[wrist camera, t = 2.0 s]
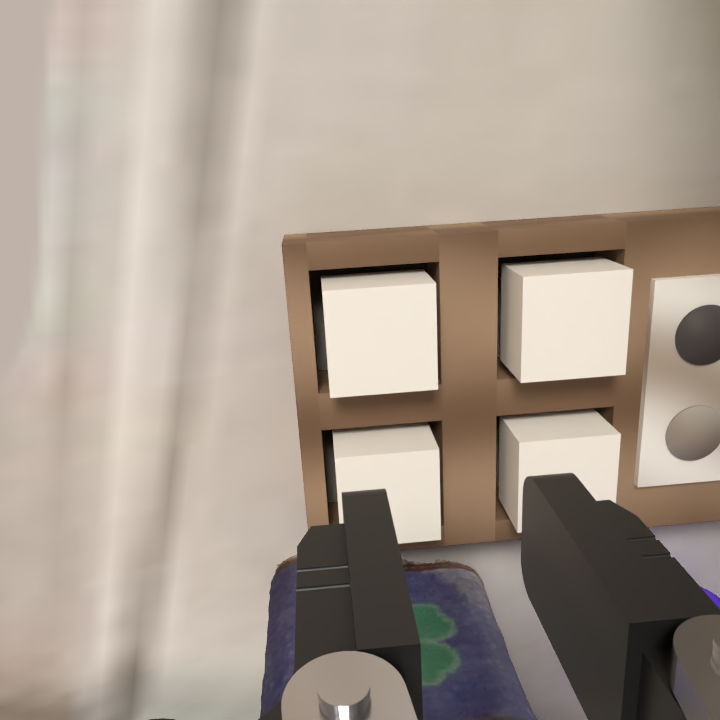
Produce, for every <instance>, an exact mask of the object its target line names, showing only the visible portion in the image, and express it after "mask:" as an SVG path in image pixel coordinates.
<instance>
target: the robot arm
mask: <svg viewBox="0 0 720 720" xmlns="http://www.w3.org/2000/svg"><path fill="white" fill-rule="evenodd" d="M342 508H343V522H344V523H341V524H330V525H319V526H311V527H310V529H309V530H308V532H307V533H306V535H305V536H304V537H303V539H302V540H301V542H300V543H299V545H298V546H297V581H296V590H297V593H296V618H295V656H294V673H293V676H292V678H291V679H290V680H289V682H288V683H287V685H286V688H285V690H284V692H283V696H282V699H281V700H280V702H279V703H278V704H277V705H276V706H275V707H274V708H273V709H272V710H271V711H269V712H268V713H267V714H266V715H264V716H263V717H262V718H260V719H258V720H423V700H422V670H421V643H420V639H419V634H418V630H417V625H416V621H415V616H414V612H413V608H412V603H411V599H410V594H409V590H408V585H407V581H406V576H405V572H404V568H403V563H402V559H401V554H400V550H399V545H398V541H397V536H396V532H395V528H394V523H393V519H392V514H391V510H390V505H389V501H388V496H387V492H386V489H374V490H362V491H351V492H342ZM521 566H522V574H523V579H524V584H525V588H526V591H527V594H528V597H529V599H530V601H531V603H532V605H533V607H534V609H535V611H536V613H537V615H538V618H539V620H540V622H541V624H542V626H543V628H544V630H545V632H546V634H547V636H548V638H549V640H550V642H551V644H552V646H553V648H554V650H555V652H556V655H557V657H558V659H559V661H560V663H561V665H562V667H563V669H564V671H565V673H566V675H567V677H568V679H569V681H570V683H571V685H572V687H573V689H574V692H575V694H576V696H577V698H578V700H579V702H580V704H581V706H582V708H583V710H584V712H585V714H586V716H587V718H588V720H720V609H719V608H718V607H717V605H716V604H715V603H714V602H713V601H712V600H711V599H710V597H709V596H708V595H707V594H706V593H705V592H704V591H703V590H702V588H701V587H700V586H699V585H698V584H697V583H696V582H695V581H694V579H693V578H692V577H691V576H690V575H689V574H688V573H687V572H686V570H685V569H684V568H683V567H682V566H681V565H680V564H679V562H678V561H677V560H676V559H675V558H674V557H673V558H671V556H670V552H669V551H668V550H667V549H666V548H665V547H664V546H663V544H662V543H661V542H660V541H659V540H656V539H655V535H654V534H653V533H652V532H651V531H650V530H649V529H648V527H647V526H646V525H645V524H644V523H643V522H642V521H641V520H640V518H639V517H638V516H637V515H635V514H633V513H631V512H630V511H628V510H626V509H625V508H623V507H621V506H619V505H618V504H616V503H614V502H612V501H611V500H601V501H596V500H595V499H594V497H593V496H592V495H591V494H590V492H589V491H588V490H587V489H586V487H585V486H584V485H583V484H582V482H581V481H580V480H579V479H578V477H577V476H576V475H575V474H573V473H561V474H549V475H538V476H528V477H526V478H525V480H524V484H523V498H522V539H521ZM150 720H174V719H150Z"/></svg>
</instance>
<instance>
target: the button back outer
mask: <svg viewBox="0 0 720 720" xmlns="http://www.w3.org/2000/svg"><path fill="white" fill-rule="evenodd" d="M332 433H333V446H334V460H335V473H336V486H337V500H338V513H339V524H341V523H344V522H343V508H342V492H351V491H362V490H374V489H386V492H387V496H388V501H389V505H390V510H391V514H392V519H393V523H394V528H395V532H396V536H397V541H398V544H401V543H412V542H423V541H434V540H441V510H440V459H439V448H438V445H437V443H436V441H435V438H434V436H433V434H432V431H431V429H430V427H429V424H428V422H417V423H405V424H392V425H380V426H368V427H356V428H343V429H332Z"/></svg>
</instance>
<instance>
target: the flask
mask: <svg viewBox="0 0 720 720" xmlns="http://www.w3.org/2000/svg"><path fill="white" fill-rule="evenodd" d="M435 562H436V563H435V564H432V563H430V564H427V563H414V562H412V561H411V562H407V560H402V563H403V568H404V572H405V576H406V581H407V585H408V590H409V594H410V599H411V603H412V608H413V612H414V616H415V621H416V625H417V630H418V634H419V639H420V643H421V670H422V700H423V720H537V718H536V717H535V715H534V713H533V711H532V709H531V707H530V705H529V703H528V701H527V698H526V696H525V694H524V691H523V689H522V686H521V684H520V682H519V679H518V676H517V674H516V671H515V668H514V666H513V664H512V662H511V660H510V657H509V655H508V651H507V648H506V645H505V642H504V638H503V636H502V633H501V631H500V629H499V627H498V625H497V622H496V620H495V617H494V615H493V612H492V609H491V606H490V603H489V600H488V597H487V594H486V592H485V589H484V585H483V582H482V580H481V579H480V577H479V576H478V574H477V573H476V571H475V570H473V569H472V568H470V567H468V566H464V565H462V564H459V563H457V562H449V561H445V560H436V561H435ZM277 566H278V568H277V569H276V573H275V575H274V577H273V580H272V582H271V589H270V592H269V593H270V601H269V621H268V630H267V634H268V635H267V645H266V653H265V674H264V678H263V685H262V695H261V714H260V718H262V717H263V716H264V715H266V714H267V713H268V712H269V711H271V710H272V709H273V708H274V707H275V706H276V705H277V704H278V703H279V702H280V700H281V699H282V696H283V692H284V690H285V688H286V685H287V683H288V682H289V680H290V679H291V678H292V676H293V673H294V656H295V618H296V593H297V590H296V581H297V555H295V556H293V557H290V558H289V559H287V560H286V561H283V562H282V563H281V564H279V565H277Z"/></svg>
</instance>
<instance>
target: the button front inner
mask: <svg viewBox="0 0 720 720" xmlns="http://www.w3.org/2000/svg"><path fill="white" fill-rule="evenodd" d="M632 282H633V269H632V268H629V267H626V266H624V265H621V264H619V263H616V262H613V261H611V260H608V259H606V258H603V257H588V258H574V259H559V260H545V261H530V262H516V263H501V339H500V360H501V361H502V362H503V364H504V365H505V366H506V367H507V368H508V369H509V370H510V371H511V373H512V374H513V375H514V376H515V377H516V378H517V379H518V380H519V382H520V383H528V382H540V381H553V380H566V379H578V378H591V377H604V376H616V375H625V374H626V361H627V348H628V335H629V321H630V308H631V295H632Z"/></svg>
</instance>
